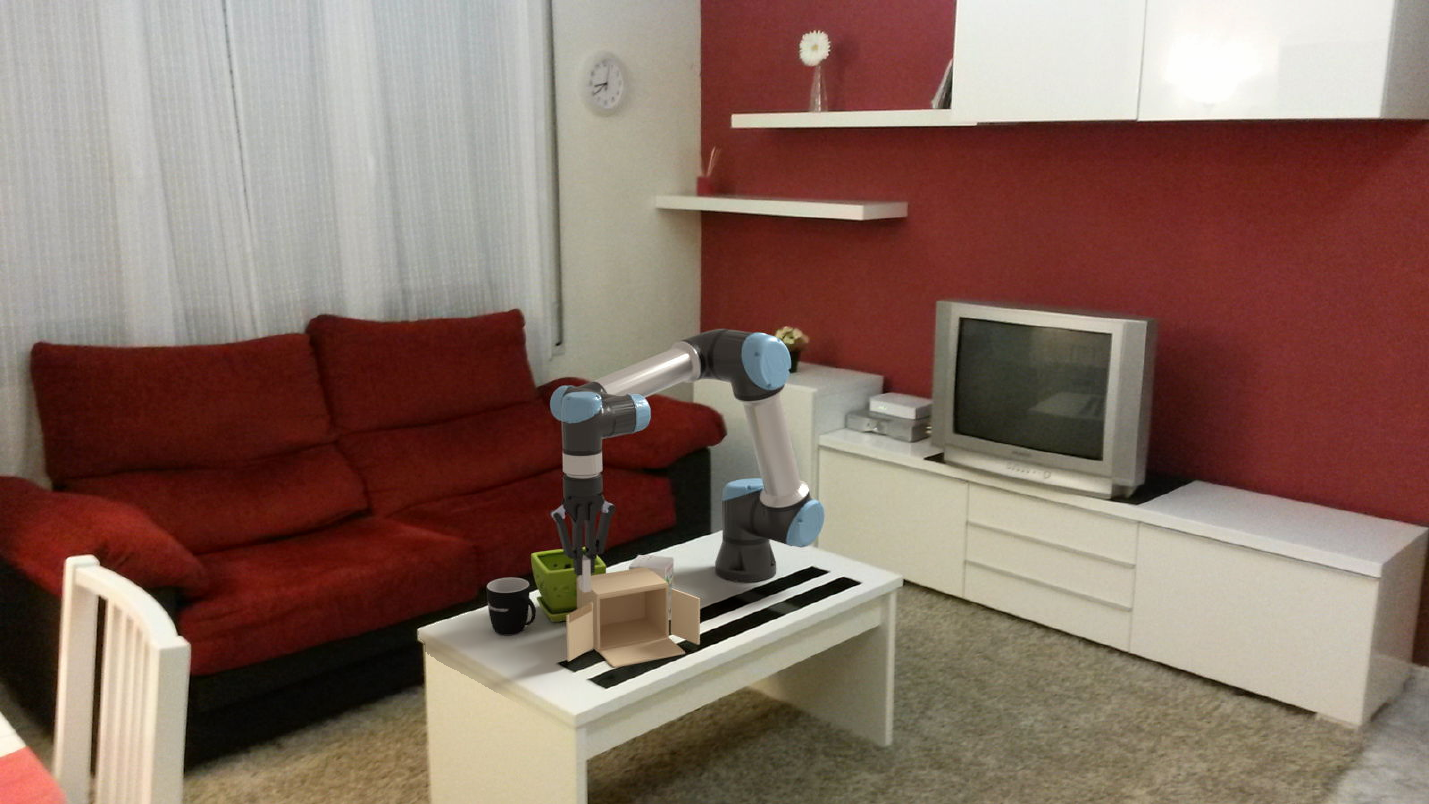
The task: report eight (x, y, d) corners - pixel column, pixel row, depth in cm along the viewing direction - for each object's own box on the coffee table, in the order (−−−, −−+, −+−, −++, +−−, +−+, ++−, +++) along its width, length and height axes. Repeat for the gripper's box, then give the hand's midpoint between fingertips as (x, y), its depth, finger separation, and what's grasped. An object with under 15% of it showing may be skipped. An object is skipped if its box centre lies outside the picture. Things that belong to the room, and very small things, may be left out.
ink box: (665, 619, 248) (665, 569, 246) (627, 616, 250) (627, 566, 248) (674, 605, 257) (674, 556, 254) (638, 602, 258) (637, 553, 256)
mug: (479, 631, 241) (477, 586, 239) (508, 618, 248) (507, 574, 246) (521, 644, 234) (519, 598, 232) (549, 630, 242) (548, 585, 240)
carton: (660, 616, 250) (660, 562, 248) (700, 650, 232) (701, 593, 230) (577, 631, 241) (576, 576, 239) (612, 668, 224) (612, 609, 221)
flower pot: (546, 628, 243) (545, 572, 240) (530, 606, 255) (528, 552, 253) (608, 619, 248) (608, 563, 246) (589, 597, 261) (588, 544, 258)
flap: (569, 661, 223) (568, 615, 221) (567, 661, 223) (566, 615, 222) (593, 647, 230) (593, 602, 228) (591, 646, 230) (591, 602, 228)
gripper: (606, 464, 222) (608, 578, 227) (543, 472, 217) (546, 588, 221) (621, 473, 216) (623, 590, 221) (556, 481, 210) (559, 601, 215)
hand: (584, 589), depth 221 cm, fingers closed
